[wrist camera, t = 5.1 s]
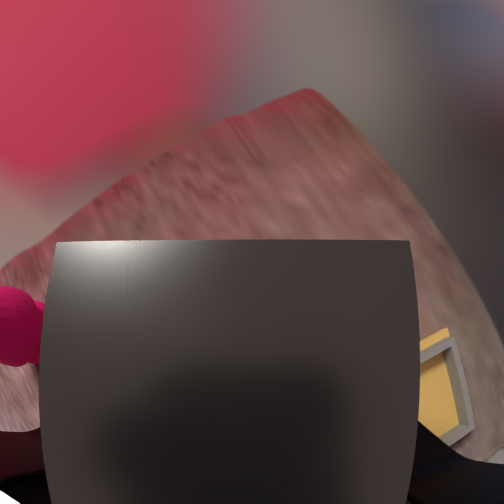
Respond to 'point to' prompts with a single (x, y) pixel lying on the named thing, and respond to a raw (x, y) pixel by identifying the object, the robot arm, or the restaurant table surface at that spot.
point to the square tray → (443, 389)
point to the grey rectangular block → (230, 372)
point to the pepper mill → (19, 327)
